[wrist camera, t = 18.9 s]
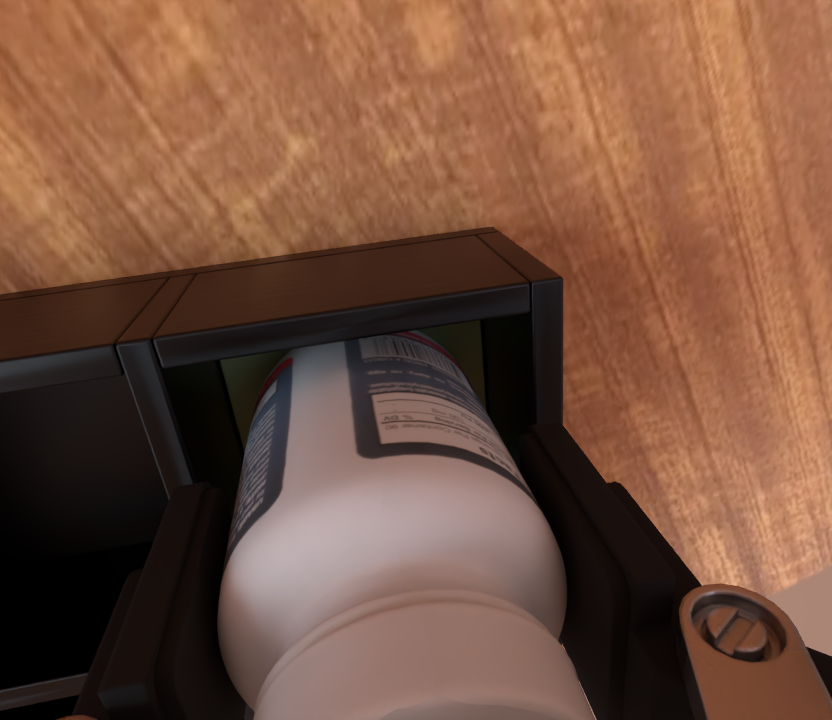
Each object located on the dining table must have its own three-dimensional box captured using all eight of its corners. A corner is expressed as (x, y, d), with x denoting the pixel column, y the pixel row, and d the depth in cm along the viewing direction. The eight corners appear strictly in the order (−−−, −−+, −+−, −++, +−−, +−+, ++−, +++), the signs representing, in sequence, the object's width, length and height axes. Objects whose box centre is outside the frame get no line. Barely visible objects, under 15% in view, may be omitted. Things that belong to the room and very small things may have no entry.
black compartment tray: (493, 226, 14) (564, 276, 10) (513, 645, 21) (562, 782, 16) (-152, 315, 13) (-371, 415, 9) (77, 736, 19) (10, 912, 15)
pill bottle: (319, 537, 15) (319, 1012, 7) (211, 378, 13) (41, 810, 5) (503, 453, 15) (707, 847, 7) (424, 277, 13) (594, 564, 5)
